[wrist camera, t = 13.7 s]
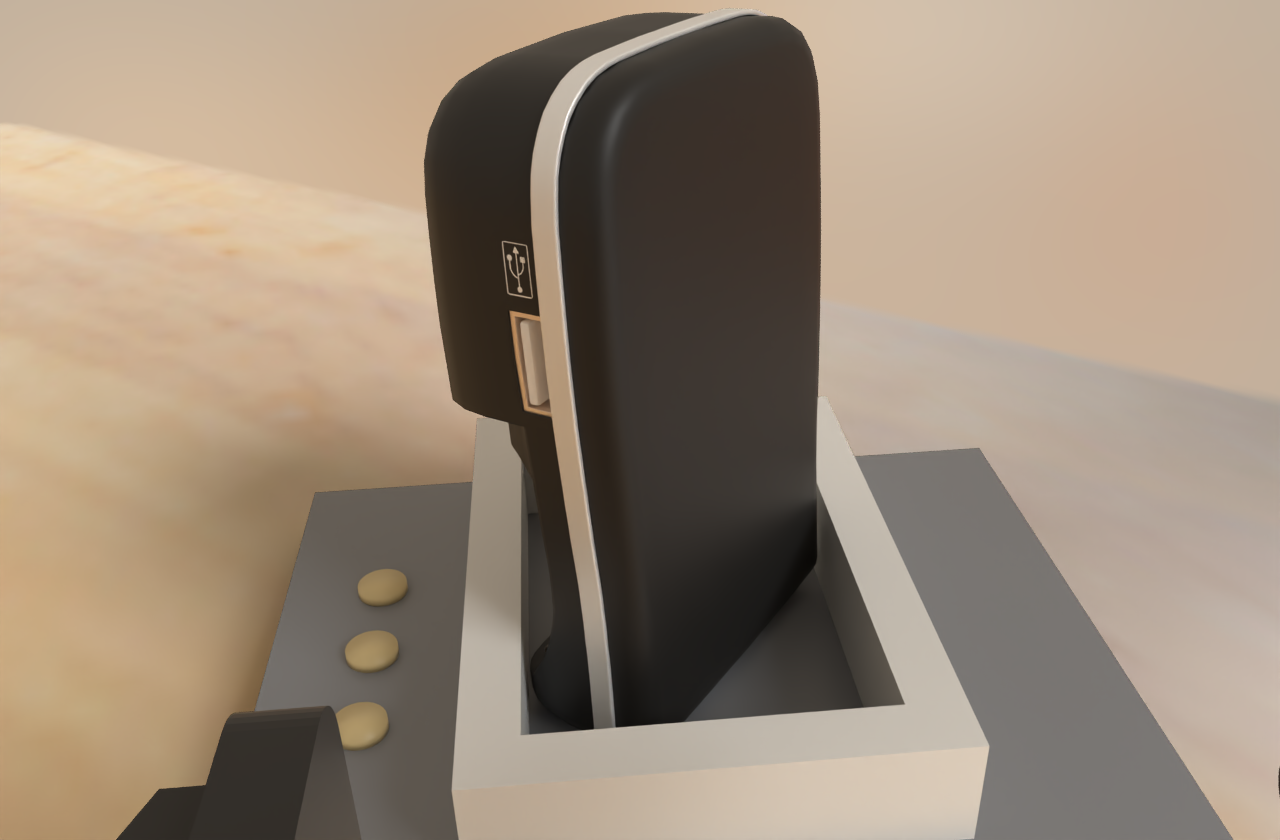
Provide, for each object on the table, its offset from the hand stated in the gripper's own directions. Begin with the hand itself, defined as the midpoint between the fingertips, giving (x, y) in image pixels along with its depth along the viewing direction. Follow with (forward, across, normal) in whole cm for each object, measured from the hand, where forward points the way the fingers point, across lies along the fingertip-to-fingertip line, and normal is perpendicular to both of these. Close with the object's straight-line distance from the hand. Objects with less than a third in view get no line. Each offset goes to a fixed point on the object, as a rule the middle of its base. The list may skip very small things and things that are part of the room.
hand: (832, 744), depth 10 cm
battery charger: (+11, 0, +8) cm, 14 cm away
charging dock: (+11, 0, +9) cm, 14 cm away
